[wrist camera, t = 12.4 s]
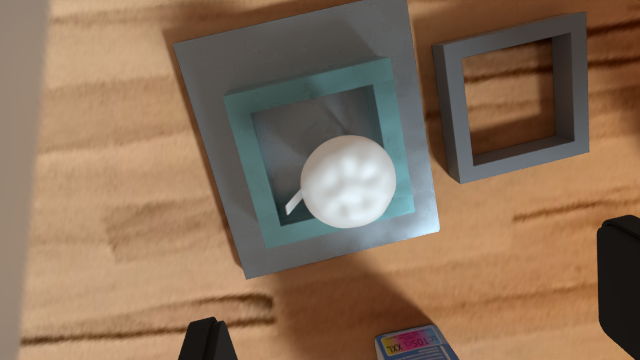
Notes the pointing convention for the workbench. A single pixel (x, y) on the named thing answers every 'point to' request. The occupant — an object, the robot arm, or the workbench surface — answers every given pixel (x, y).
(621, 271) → the robot arm
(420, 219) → the panel
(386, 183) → the milkshake
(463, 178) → the square picture frame
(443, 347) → the ink cartridge box
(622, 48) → the workbench surface
